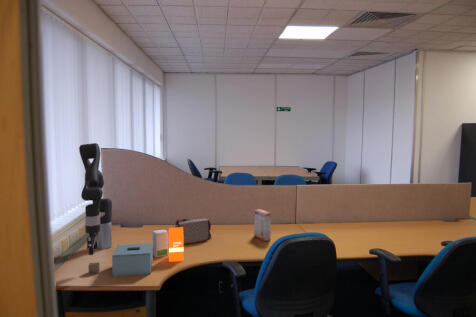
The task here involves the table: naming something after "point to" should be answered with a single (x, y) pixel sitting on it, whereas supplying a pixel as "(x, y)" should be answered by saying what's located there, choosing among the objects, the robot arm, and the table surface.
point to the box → (132, 259)
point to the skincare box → (160, 243)
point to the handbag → (195, 230)
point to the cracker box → (262, 224)
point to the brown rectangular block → (94, 268)
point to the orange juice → (176, 244)
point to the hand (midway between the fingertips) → (93, 251)
